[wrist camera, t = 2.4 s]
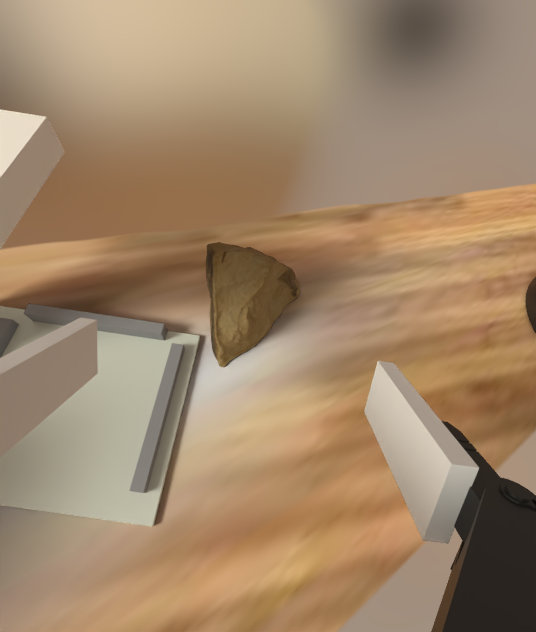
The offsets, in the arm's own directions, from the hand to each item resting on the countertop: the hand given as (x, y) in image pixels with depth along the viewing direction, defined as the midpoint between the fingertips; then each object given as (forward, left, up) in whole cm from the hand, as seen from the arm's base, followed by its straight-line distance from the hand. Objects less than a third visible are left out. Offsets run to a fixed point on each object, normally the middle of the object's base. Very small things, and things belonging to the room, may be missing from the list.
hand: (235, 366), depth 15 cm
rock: (0, -10, -14) cm, 17 cm away
